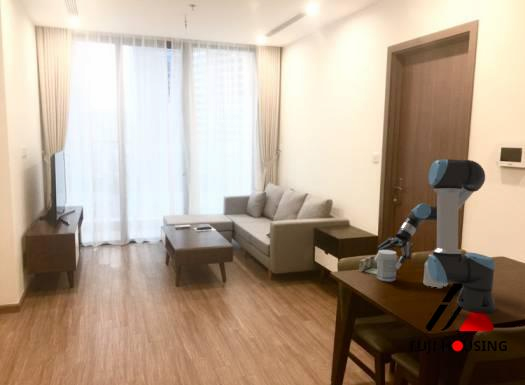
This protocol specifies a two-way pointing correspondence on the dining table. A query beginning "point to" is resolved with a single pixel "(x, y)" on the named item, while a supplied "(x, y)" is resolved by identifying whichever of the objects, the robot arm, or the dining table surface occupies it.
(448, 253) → the robot arm
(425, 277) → the jar
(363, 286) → the dining table surface
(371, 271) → the mat
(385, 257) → the supplement tub
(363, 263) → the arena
